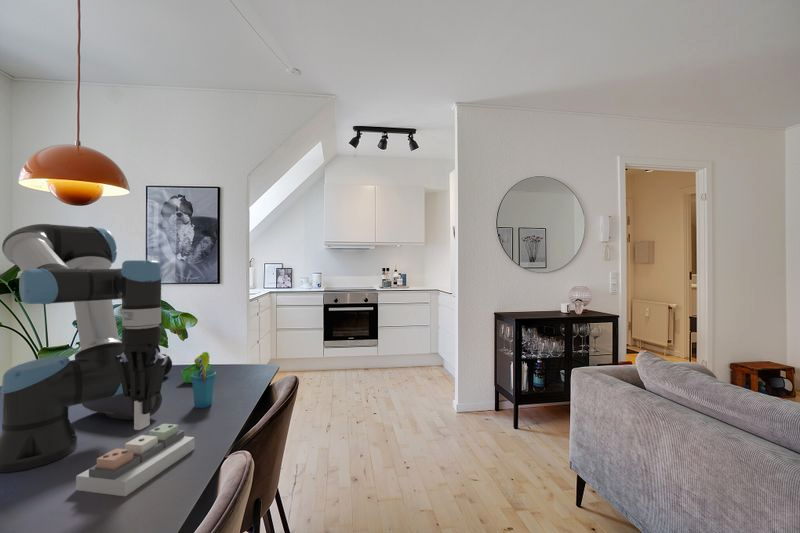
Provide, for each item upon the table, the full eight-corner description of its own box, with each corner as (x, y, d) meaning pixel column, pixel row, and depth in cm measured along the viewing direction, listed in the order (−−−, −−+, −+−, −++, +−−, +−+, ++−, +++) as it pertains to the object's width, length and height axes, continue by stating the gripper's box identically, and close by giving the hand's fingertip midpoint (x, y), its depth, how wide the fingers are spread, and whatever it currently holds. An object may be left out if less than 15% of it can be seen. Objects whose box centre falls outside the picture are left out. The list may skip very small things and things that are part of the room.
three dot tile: (96, 468, 77) (96, 458, 77) (116, 457, 81) (116, 447, 81) (114, 470, 76) (114, 459, 76) (133, 459, 80) (133, 449, 80)
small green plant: (193, 375, 156) (193, 349, 156) (214, 375, 157) (214, 348, 157) (179, 384, 145) (180, 355, 145) (203, 383, 146) (203, 355, 145)
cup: (184, 401, 126) (185, 358, 126) (209, 396, 131) (209, 354, 131) (195, 413, 116) (195, 366, 116) (221, 407, 121) (221, 362, 121)
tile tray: (76, 490, 76) (76, 468, 76) (154, 444, 96) (154, 427, 96) (125, 496, 74) (125, 473, 74) (194, 448, 94) (194, 431, 94)
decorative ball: (177, 374, 158) (177, 351, 158) (163, 381, 148) (163, 356, 148) (153, 374, 157) (153, 351, 157) (137, 381, 147) (137, 357, 147)
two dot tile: (148, 439, 89) (148, 430, 89) (163, 431, 94) (163, 423, 94) (164, 440, 89) (164, 432, 89) (178, 432, 93) (178, 424, 93)
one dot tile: (124, 452, 83) (124, 443, 83) (141, 443, 87) (141, 434, 87) (141, 454, 82) (141, 444, 82) (157, 444, 87) (157, 435, 87)
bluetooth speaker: (164, 414, 115) (164, 383, 115) (135, 427, 106) (135, 392, 106) (110, 406, 121) (110, 376, 121) (79, 418, 112) (79, 385, 112)
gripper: (102, 328, 82) (102, 432, 82) (152, 329, 80) (152, 436, 80) (132, 323, 90) (132, 418, 90) (178, 324, 87) (179, 422, 87)
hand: (142, 427), depth 85 cm, fingers closed
